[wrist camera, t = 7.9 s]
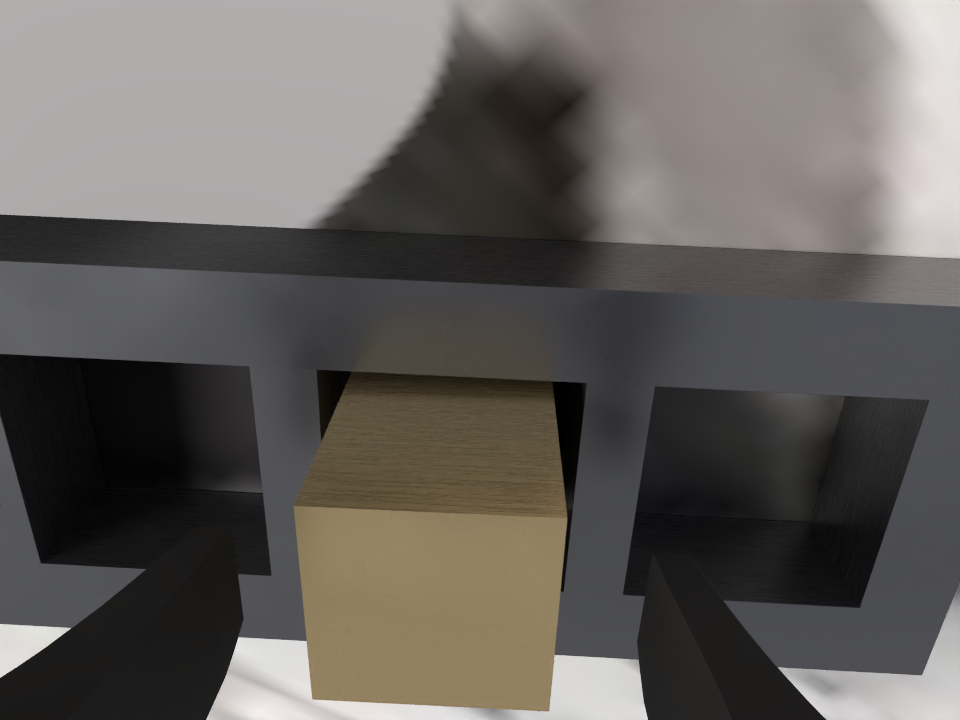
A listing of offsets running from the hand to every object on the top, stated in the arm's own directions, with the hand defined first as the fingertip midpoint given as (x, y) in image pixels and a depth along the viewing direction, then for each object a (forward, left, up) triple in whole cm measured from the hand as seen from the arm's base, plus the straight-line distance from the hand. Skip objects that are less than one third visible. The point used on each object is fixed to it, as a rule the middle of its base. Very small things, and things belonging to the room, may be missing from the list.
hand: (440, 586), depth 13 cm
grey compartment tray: (0, 0, -6) cm, 6 cm away
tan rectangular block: (0, 0, -6) cm, 6 cm away
